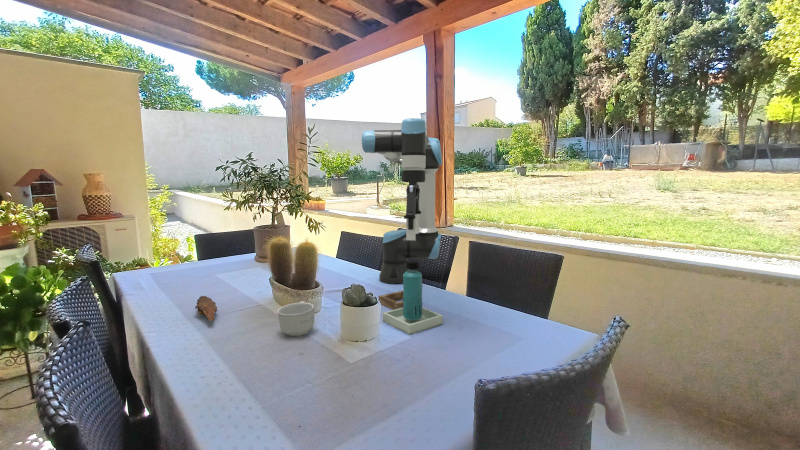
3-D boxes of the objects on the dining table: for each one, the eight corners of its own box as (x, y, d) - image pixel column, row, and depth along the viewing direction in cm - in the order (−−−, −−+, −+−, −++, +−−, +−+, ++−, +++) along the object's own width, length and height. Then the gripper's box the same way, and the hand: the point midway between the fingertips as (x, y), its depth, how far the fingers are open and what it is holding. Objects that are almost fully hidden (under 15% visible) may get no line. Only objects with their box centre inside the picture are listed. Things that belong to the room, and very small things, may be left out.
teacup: (305, 341, 112) (304, 314, 111) (271, 338, 114) (270, 312, 113) (324, 323, 126) (323, 299, 125) (293, 321, 128) (292, 297, 127)
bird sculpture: (202, 330, 120) (201, 314, 119) (190, 308, 140) (189, 295, 139) (225, 325, 124) (224, 310, 123) (210, 304, 144) (209, 291, 143)
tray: (415, 312, 136) (415, 304, 136) (442, 324, 125) (442, 315, 125) (382, 321, 127) (382, 312, 127) (409, 335, 116) (409, 325, 116)
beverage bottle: (415, 326, 122) (415, 264, 119) (398, 321, 126) (398, 261, 123) (426, 320, 127) (426, 260, 125) (410, 315, 131) (410, 258, 129)
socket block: (402, 297, 152) (402, 290, 152) (421, 305, 143) (421, 297, 143) (378, 303, 145) (378, 296, 145) (397, 312, 136) (397, 303, 136)
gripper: (405, 170, 133) (405, 231, 135) (396, 168, 108) (396, 242, 111) (427, 170, 132) (426, 231, 135) (422, 168, 107) (422, 243, 110)
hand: (412, 236), depth 123 cm, fingers open, 13 cm apart
